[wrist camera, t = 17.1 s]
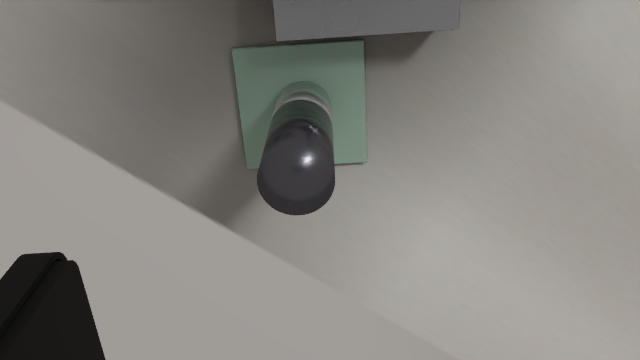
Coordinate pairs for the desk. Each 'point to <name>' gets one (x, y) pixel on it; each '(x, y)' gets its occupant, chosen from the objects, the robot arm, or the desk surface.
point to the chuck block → (361, 17)
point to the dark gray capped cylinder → (298, 151)
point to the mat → (303, 65)
